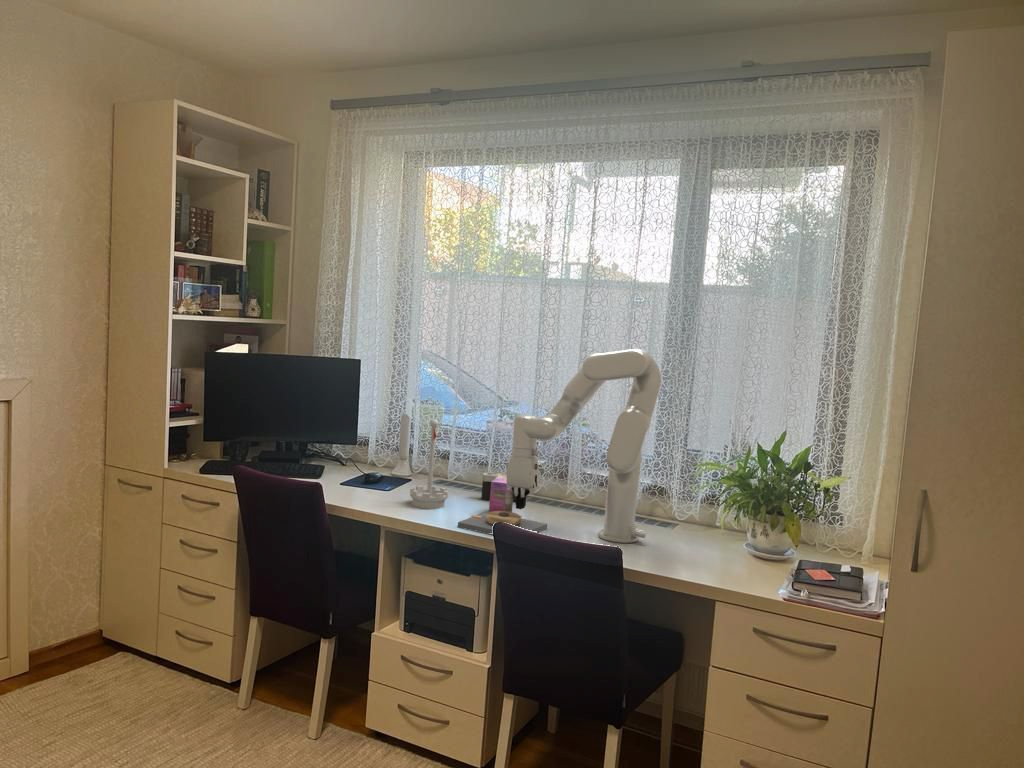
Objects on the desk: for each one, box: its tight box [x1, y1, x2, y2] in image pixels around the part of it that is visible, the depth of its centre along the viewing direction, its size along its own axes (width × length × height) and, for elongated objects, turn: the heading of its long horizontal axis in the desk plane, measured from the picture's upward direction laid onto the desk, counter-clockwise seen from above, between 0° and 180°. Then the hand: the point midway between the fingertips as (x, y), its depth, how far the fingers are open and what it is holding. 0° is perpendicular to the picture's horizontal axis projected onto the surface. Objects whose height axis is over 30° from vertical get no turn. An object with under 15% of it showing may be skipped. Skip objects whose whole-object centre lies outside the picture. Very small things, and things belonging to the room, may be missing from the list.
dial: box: [486, 490, 522, 526], centre depth 258 cm, size 16×11×8 cm
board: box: [457, 510, 548, 534], centre depth 257 cm, size 22×21×2 cm
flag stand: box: [409, 418, 449, 510], centre depth 278 cm, size 13×13×30 cm
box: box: [488, 476, 512, 512], centre depth 274 cm, size 10×6×12 cm, turn 168°
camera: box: [481, 472, 516, 503], centre depth 292 cm, size 14×8×10 cm, turn 93°
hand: (520, 508), depth 263 cm, fingers closed
